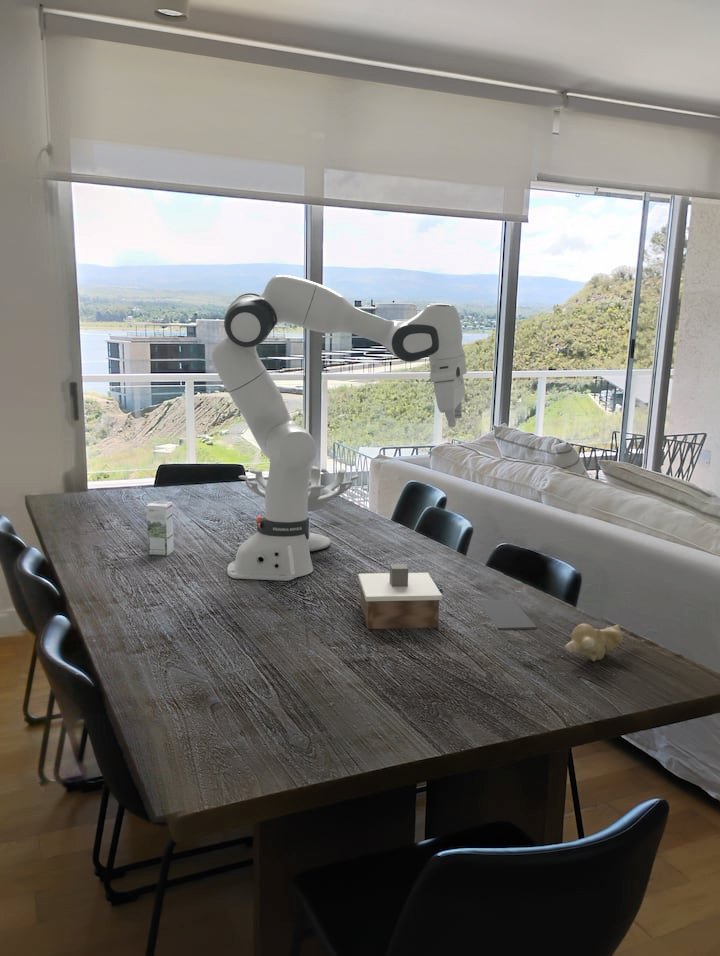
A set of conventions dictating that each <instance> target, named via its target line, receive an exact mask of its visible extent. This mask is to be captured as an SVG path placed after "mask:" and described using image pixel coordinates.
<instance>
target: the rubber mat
mask: <svg viewBox="0 0 720 956" xmlns="http://www.w3.org/2000/svg"><path fill="white" fill-rule="evenodd" d="M476 602H477V603H478V604H479V606H480V607H481V609H482V610H483V611H484V613H485V614H486V615H487V617H488V618H489V619H490V620H491V622H492V624H493V625H494V626H495V627H496V628H497V630H501V631H502V630H537V628H538V626H537V625H536V624H535V623H534V622H533V620H531V618H530V617H529V616H528V615H527V614H526V613H525V612H524V611H523V609H522V608H520V606H519V605H518V604H517V603H516V602H515V601H514V600H513V599H511V598H507V599H504V598H503V599H501V598H500V599H498V598H497V599H476Z"/></svg>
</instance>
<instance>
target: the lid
mask: <svg viewBox="0 0 720 956" xmlns="http://www.w3.org/2000/svg"><path fill="white" fill-rule="evenodd" d="M357 575H358V577H357V578H358V581H359V584H360V588H361V587H362V591H363V594H364V597H365V600H366V601H412V600H439V601H442V600H443V595H442V593H441V591H439V590H438V588H437V586H436V585H435V583H436V582H435V581H434V580H433V578H432V576H431V575H430V573H429V572H409V568H408V566H407V564H406V563H395V564H394V563H390V564H389V572H386V573H385V572H384V573H383V572H381V573H379V572H377V573H375V572H374V573H370V572H369V573H357Z"/></svg>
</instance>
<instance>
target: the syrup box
mask: <svg viewBox="0 0 720 956" xmlns="http://www.w3.org/2000/svg"><path fill="white" fill-rule="evenodd" d="M173 510H174V509H173V502H172V501H154V500H153V501H150V502H149V503H148V504H147V505H146V527H147V532H146V534H147V553H148V556H159V557H160V556H161V557H162V556H163V557H164V556H165V557H167V556H169V555H171V554H172V553H173V552H174V550H175V549H174V547H175V545H174V521H173V520H174V515H173V514H174V513H173Z"/></svg>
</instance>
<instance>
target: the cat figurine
mask: <svg viewBox="0 0 720 956" xmlns="http://www.w3.org/2000/svg"><path fill="white" fill-rule="evenodd" d="M623 639H624V636H623V632H622V631H621V628H620V626H619V625H618V624H615V625H612V626H608V627H606V628H603V629H598V628H594V626H592V625H590V624H589V623H586V622H585V623H584V622H583V623H580V624H579V623H578V624H577V626H575V627H574V628H573V630H572V632H571V635H570V641H568V643H567V644H565V645H564V648H565V650H566V651H568V652H569V653H579V654H580V655H583V656H584V657H585V658H589V659H590V660H591V661H592V662H596V661H599V660H602V659H604V657H605V654H606V652H611V651H613V650H614V649H615V647H616V646H618V645H621V644H622V642H623Z"/></svg>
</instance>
